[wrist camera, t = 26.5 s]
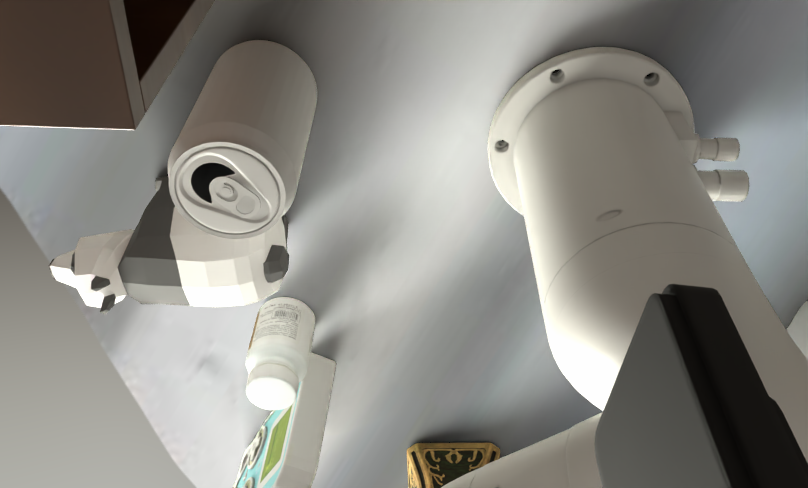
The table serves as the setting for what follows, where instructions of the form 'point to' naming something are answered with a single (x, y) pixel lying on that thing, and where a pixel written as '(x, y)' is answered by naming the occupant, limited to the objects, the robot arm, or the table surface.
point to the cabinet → (89, 59)
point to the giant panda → (174, 262)
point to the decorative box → (446, 462)
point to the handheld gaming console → (291, 435)
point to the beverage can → (244, 141)
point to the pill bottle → (279, 352)
